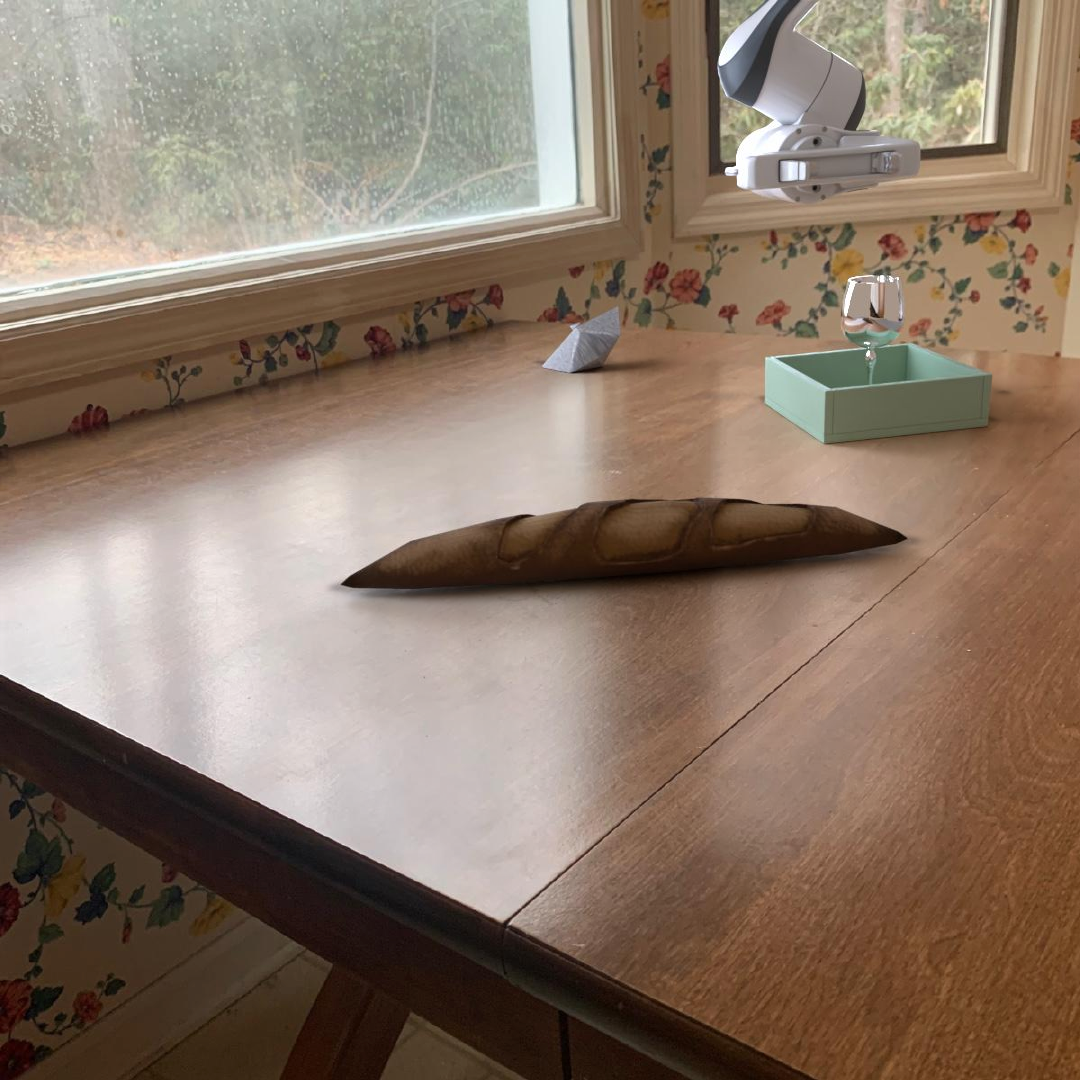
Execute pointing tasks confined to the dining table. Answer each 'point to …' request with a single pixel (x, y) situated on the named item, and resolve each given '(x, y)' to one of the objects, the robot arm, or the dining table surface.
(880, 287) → the wineglass
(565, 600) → the dining table surface
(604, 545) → the bread
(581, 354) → the paper boat
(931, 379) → the bin
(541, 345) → the dining table surface
